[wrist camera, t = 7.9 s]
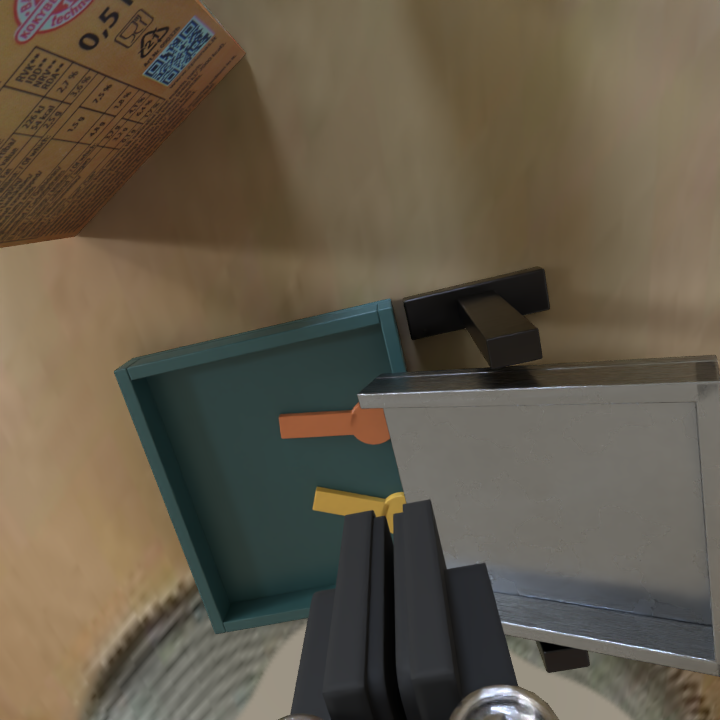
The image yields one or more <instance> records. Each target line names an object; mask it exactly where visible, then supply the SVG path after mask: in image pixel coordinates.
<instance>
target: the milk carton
mask: <svg viewBox="0 0 720 720" xmlns="http://www.w3.org/2000/svg"><path fill="white" fill-rule="evenodd" d="M245 54H246V53H245V51H244V50H243V49H242V48H241V47H240V46H239V44H238V43H237V42H236V41H235V40H234V38H233V37H232V36H231V35H230V34H229V33H228V31H227V30H226V29H225V28H224V27H223V26H222V24H221V23H220V22H219V21H218V20H217V18H216V17H215V16H214V15H213V14H212V13H211V11H210V10H209V9H208V8H207V7H206V6H205V4H204V3H203V2H202V1H201V0H0V248H3V247H9V246H16V245H23V244H29V243H36V242H42V241H49V240H55V239H62V238H68V237H75V236H76V235H77V234H78V233H79V232H80V231H81V229H82V228H83V227H84V226H85V225H86V224H87V223H88V222H89V221H90V220H91V219H92V218H93V217H94V216H95V214H96V213H97V212H98V211H99V210H100V209H101V208H102V207H103V206H104V205H105V204H106V203H107V202H108V201H109V200H110V198H111V197H112V196H113V195H114V194H115V193H116V192H117V191H118V190H119V189H120V188H121V187H122V186H123V185H124V183H125V182H126V181H127V180H128V179H129V178H130V177H131V176H132V175H133V174H134V173H135V172H136V171H137V170H138V168H139V167H140V166H141V165H142V164H143V163H144V162H145V161H146V160H147V159H148V158H149V157H150V156H151V155H152V154H153V152H154V151H155V150H156V149H157V148H158V147H159V146H160V145H161V144H162V143H163V142H164V141H165V140H166V139H167V137H168V136H169V135H170V134H171V133H172V132H173V131H174V130H175V129H176V128H177V127H178V126H179V125H180V124H181V122H182V121H183V120H184V119H185V118H186V117H187V116H188V115H189V114H190V113H191V112H192V111H193V110H194V109H195V108H196V106H197V105H198V104H199V103H200V102H201V101H202V100H203V99H204V98H205V97H206V96H207V95H208V94H209V93H210V91H211V90H212V89H213V88H214V87H215V86H216V85H217V84H218V83H219V82H220V81H221V80H222V79H223V78H224V76H225V75H226V74H227V73H228V72H229V71H230V70H231V69H232V68H233V67H234V66H235V65H236V64H237V63H238V62H239V60H240V59H241V58H242V57H243V56H244V55H245Z"/></svg>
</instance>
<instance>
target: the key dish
mask: <svg viewBox="0 0 720 720" xmlns="http://www.w3.org/2000/svg"><path fill="white" fill-rule="evenodd" d="M357 397H358V401H359V405H360V408H361V409H372V408H383V411H384V415H385V419H386V423H387V427H388V431H389V435H390V439H391V444H392V448H393V452H394V456H395V460H396V464H397V468H398V472H399V476H400V480H401V484H402V488H403V492H404V496H405V500H406V504H407V503H412V502H418V501H423V500H429V499H430V500H431V503H432V507H433V511H434V516H435V520H436V524H437V529H438V533H439V537H440V541H441V546H442V550H443V554H444V559H445V563H446V567H447V569H451V568H456V567H462V566H468V565H474V564H480V563H486V567H487V570H488V574H489V578H490V582H491V585H492V589H493V593H494V597H495V601H496V604H497V608H498V612H499V616H500V619H501V623H502V627H503V631H504V634H505V635H510V636H515V637H520V638H525V639H530V640H535V641H541V642H546V643H551V644H556V645H561V646H566V647H571V648H576V649H581V650H586V651H592V652H597V653H602V654H607V655H612V656H617V657H622V658H627V659H632V660H637V661H642V662H648V663H653V664H658V665H663V666H668V667H673V668H678V669H683V670H688V671H693V672H699V673H704V674H709V675H714V676H719V677H720V374H719V368H718V362H717V357H716V355H703V356H685V357H667V358H649V359H632V360H614V361H596V362H579V363H561V364H543V365H525V366H508V367H501V368H496V369H491V367H490V368H472V369H454V370H437V371H419V372H401V373H383V374H380V375H379V376H377V377H376V379H374V380H373V381H372V382H370V383H369V384H368V385H367V386H366V387H365V388H364V389H362V390H361V391H360V392H359V393H358V394H357Z"/></svg>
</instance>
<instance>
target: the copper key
mask: <svg viewBox="0 0 720 720" xmlns="http://www.w3.org/2000/svg"><path fill="white" fill-rule="evenodd" d="M279 424H280V432H281V438H282V439H287V438H305V437H322V436H340V435H354V436H355V437H356V438H357V439H359V440H360V441H362V442H364V443H367V444H373V445H375V444H381V443H384V442H386V441H388V440H389V439H390V435H389V431H388V427H387V423H386V419H385V415H384V411H383V408H372V409H361V408H360V405H359V402H358V403H357V404H356V405H355V406H354V408H353V409H352V410H342V411H325V412H308V413H291V414H280V416H279Z"/></svg>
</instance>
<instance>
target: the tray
mask: <svg viewBox="0 0 720 720" xmlns="http://www.w3.org/2000/svg"><path fill="white" fill-rule="evenodd" d="M401 372H407V368H406V363H405V359H404V355H403V350H402V346H401V341H400V337H399V333H398V328H397V324H396V320H395V315H394V311H393V306H392V302H391V299H385V300H381V301H377V302H373V303H368V304H364V305H360V306H355V307H351V308H347V309H342V310H338V311H334V312H330V313H325V314H321V315H317V316H312V317H308V318H304V319H300V320H295V321H291V322H287V323H282V324H278V325H274V326H269V327H265V328H261V329H257V330H252V331H248V332H244V333H239V334H235V335H231V336H227V337H222V338H218V339H214V340H209V341H205V342H201V343H196V344H192V345H188V346H184V347H179V348H175V349H171V350H166V351H162V352H158V353H153V354H149V355H145V356H141V357H136V358H132V359H131V360H129V361H128V362H126V363H125V364H124V365H122V366H121V367H119V368H118V369H116V370H115V371H114V374H115V376H116V379H117V381H118V384H119V387H120V389H121V392H122V394H123V397H124V399H125V402H126V405H127V407H128V410H129V412H130V415H131V417H132V420H133V423H134V425H135V428H136V430H137V433H138V436H139V438H140V441H141V443H142V446H143V448H144V451H145V454H146V456H147V459H148V461H149V464H150V466H151V469H152V472H153V474H154V477H155V479H156V482H157V485H158V487H159V490H160V492H161V495H162V497H163V500H164V503H165V505H166V508H167V510H168V513H169V515H170V518H171V521H172V523H173V526H174V528H175V531H176V534H177V536H178V539H179V541H180V544H181V546H182V549H183V552H184V554H185V557H186V559H187V562H188V564H189V567H190V570H191V572H192V575H193V577H194V580H195V583H196V585H197V588H198V590H199V593H200V595H201V598H202V601H203V603H204V606H205V608H206V611H207V613H208V616H209V619H210V621H211V624H212V626H213V629H214V632H215V634H219V633H225V632H226V631H227V632H231V631H237V630H242V629H248V628H254V627H259V626H265V625H270V624H276V623H282V622H287V621H293V620H299V619H304V618H308V616H309V610H310V605H311V600H312V597H313V594H314V593H315V592H317V591H323V590H328V589H334V588H336V580H337V573H338V565H339V557H340V549H341V541H342V534H343V526H344V518H345V516H344V515H338V514H332V513H327V512H321V511H315V510H313V504H314V498H315V492H316V487H322V488H328V489H333V490H339V491H345V492H350V493H356V494H361V495H367V496H373V497H378V498H384V499H386V498H387V497H388V496H390V495H391V494H394V493H397V492H403V488H402V484H401V480H400V476H399V472H398V468H397V464H396V460H395V456H394V452H393V448H392V444H391V439H389V440H388V441H386V442H384V443H381V444H375V445H373V444H367V443H364V442H362V441H360V440H359V439H357V438H356V437H355V436H354V435H340V436H322V437H305V438H287V439H282V438H281V432H280V424H279V416H280V414H291V413H308V412H325V411H342V410H352V409H353V408H354V406H355V405H356V404H357V403H358V402H359V401H358V397H357V394H358V393H359V392H360V391H361V390H362V389H364V388H365V387H366V386H367V385H368V384H369V383H370V382H372V381H373V380H374V379H376V377H377V376H379V375H380V374H383V373H401ZM391 537H392V541H393V545H394V539H393V534H392V533H391Z"/></svg>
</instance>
